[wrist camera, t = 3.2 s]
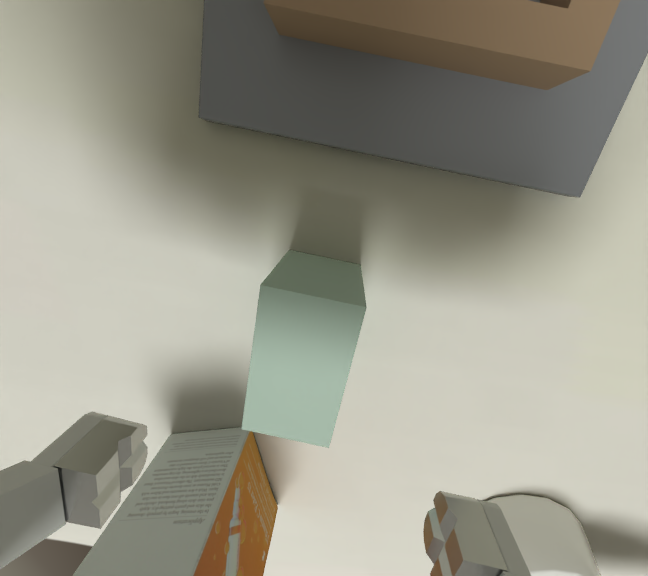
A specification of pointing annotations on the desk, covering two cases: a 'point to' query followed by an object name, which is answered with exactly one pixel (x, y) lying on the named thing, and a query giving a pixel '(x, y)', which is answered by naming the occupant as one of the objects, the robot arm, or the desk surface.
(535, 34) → the keyed plate
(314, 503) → the desk surface
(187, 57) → the desk surface
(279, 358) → the sage block
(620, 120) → the desk surface
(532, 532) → the inkwell
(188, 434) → the small box
